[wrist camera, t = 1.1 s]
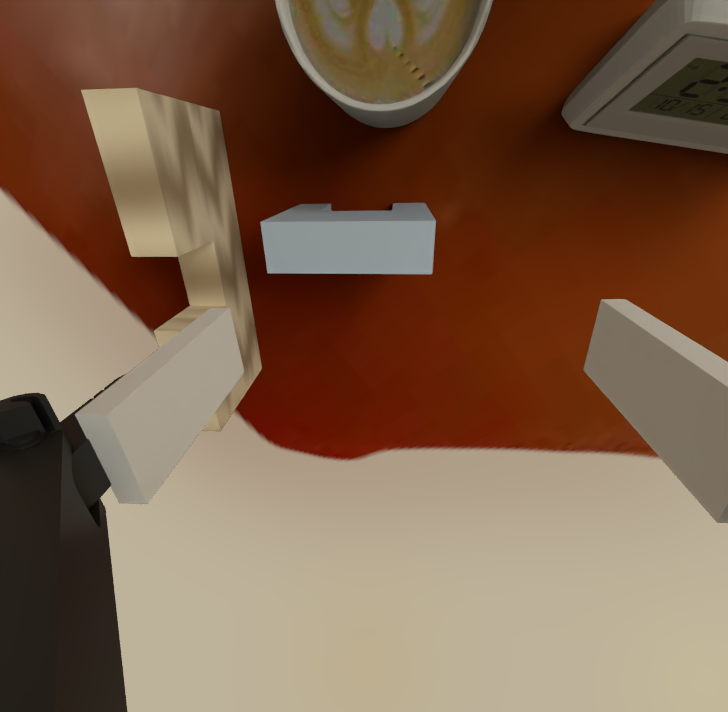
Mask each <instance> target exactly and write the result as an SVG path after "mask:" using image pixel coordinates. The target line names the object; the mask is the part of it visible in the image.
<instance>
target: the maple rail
mask: <svg viewBox="0 0 728 712" xmlns="http://www.w3.org/2000/svg"><path fill="white" fill-rule="evenodd" d="M81 91H82V95H83V98H84V101H85V105H86V108H87V111H88V115H89V118H90V121H91V124H92V128H93V131H94V134H95V138H96V141H97V144H98V148H99V151H100V154H101V158H102V161H103V164H104V168H105V171H106V174H107V177H108V181H109V184H110V187H111V191H112V194H113V197H114V201H115V204H116V207H117V211H118V214H119V217H120V221H121V224H122V227H123V230H124V234H125V237H126V240H127V244H128V247H129V250H130V254H131V257H178V259H179V263H180V267H181V271H182V275H183V279H184V283H185V287H186V291H187V295H188V299H189V304H190V306H189V307H187V308H186V309H184V310H183V311H182V312H180V313H179V314H177V315H176V316H174V317H173V318H171V319H170V320H169V321H167V322H166V323H164V324H163V325H161V326H160V327H158V328H157V329H156V330H154V333H155V337H156V340H157V343H158V346H159V348H160V347H161V346H163V345H164V344H165V343H166V342H168V341H169V340H170V339H172V338H173V337H174V336H175V335H177V334H178V333H179V332H180V331H182V330H183V329H184V328H186V327H187V326H188V325H189V324H191V323H192V322H193V321H194V320H196V319H197V318H198V317H200V316H201V315H202V314H203V313H205V312H206V311H207V310H209V309H210V308H230V311H231V316H232V320H233V324H234V329H235V333H236V337H237V342H238V346H239V350H240V355H241V359H242V363H243V368H244V373H243V374H242V376H241V377H240V379H239V380H238V381H237V383H236V384H235V385H234V387H233V388H232V390H231V391H230V392H229V394H228V395H227V396H226V398H225V399H224V400H223V402H222V403H221V405H220V406H219V407H218V409H217V410H216V411H215V413H214V414H213V416H212V417H211V418H210V420H209V421H208V422H207V424H206V425H205V426H204V428H203V429H202V431H221V430H222V428H223V427H224V425H225V424H226V422H227V421H228V419H229V418H230V416H231V415H232V413H233V412H234V410H235V409H236V407H237V406H238V404H239V403H240V401H241V400H242V398H243V397H244V395H245V394H246V392H247V391H248V389H249V388H250V386H251V384H252V383H253V381H254V380H255V378H256V377H257V375H258V374H259V372H260V371H261V369H262V365H261V359H260V353H259V347H258V341H257V335H256V329H255V323H254V317H253V311H252V305H251V298H250V292H249V286H248V280H247V274H246V268H245V262H244V256H243V250H242V244H241V238H240V232H239V226H238V219H237V213H236V207H235V201H234V195H233V189H232V183H231V177H230V171H229V165H228V159H227V153H226V146H225V140H224V134H223V128H222V122H221V116H220V111H218V110H214V109H211V108H207V107H203V106H200V105H196V104H192V103H189V102H185V101H182V100H178V99H174V98H171V97H167V96H164V95H160V94H156V93H153V92H149V91H146V90H142V89H138V88H121V89H94V90H81Z"/></svg>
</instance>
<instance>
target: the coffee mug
mask: <svg viewBox="0 0 728 712" xmlns="http://www.w3.org/2000/svg"><path fill="white" fill-rule="evenodd" d="M275 2H276V8H277V13H278V16H279V20H280V23H281V26H282V30H283V32H284V35H285V37H286V39H287V41H288V44H289V46H290V48H291V50H292V52H293V54H294V56H295V58H296V60H297V61H298V63H299V64H300V66H301V67H302V69H303V70H304V71H305V73H306V74H307V75H308V76H309V78H310V79H311V80H312V81H313V82H314V83H315V84H316V86H317V87H319V88H320V89H321V90H322V91H323V92H324V93H325V94H326V95H327V96H328V97H329V98H331V99H332V100H333V101H334V102H335V103H336V104H337V105H338V106H339V107H340V108H341V109H343V110H344V111H345V112H346V113H347V114H348V115H350V116H351V117H352V118H354V119H356V120H357V121H359V122H361V123H364V124H366V125H369V126H373V127H379V128H393V127H399V126H403V125H406V124H409V123H411V122H413V121H415V120H417V119H419V118H420V117H422V116H423V115H424V114H426V113H427V112H428V111H430V110H431V109H432V108H433V107H434V106H435V105H436V104H437V102H438V101H439V100H440V99H441V98H442V96H443V95H444V93H445V92H446V91H447V89H448V88H449V86H450V85H451V83H452V82H453V80H454V79H455V77H456V76H457V74H458V73H459V71H460V70H461V68H462V67H463V65H464V64H465V62H466V61H467V59H468V58H469V56H470V54H471V53H472V51H473V49H474V47H475V46H476V44H477V42H478V40H479V38H480V35H481V33H482V31H483V29H484V26H485V24H486V21H487V18H488V15H489V12H490V8H491V5H492V2H493V0H275Z"/></svg>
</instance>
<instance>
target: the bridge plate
mask: <svg viewBox="0 0 728 712" xmlns="http://www.w3.org/2000/svg"><path fill="white" fill-rule="evenodd" d="M260 223H261V230H262V237H263V245H264V252H265V259H266V266H267V273H298V274H432V270H433V255H434V240H435V225H436V220H435V219H434V217H433V215H432V214H431V212H430V210H429V209H428V207H427V206H426V204H425V203H393V208H392V211H331V204H300V205H297V206H295V207H293V208H291V209H288V210H286V211H284V212H282V213H279V214H277V215H275V216H273V217H270V218H268V219H266V220H264V221H261V222H260Z"/></svg>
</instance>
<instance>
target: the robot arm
mask: <svg viewBox="0 0 728 712" xmlns="http://www.w3.org/2000/svg"><path fill="white" fill-rule="evenodd" d="M584 371H585V373H586V374H587V375H588V376H589V377H590V378H591V379H592V381H593V382H594V383H595V384H596V385H597V386H598V387H599V388H600V390H601V391H602V392H603V393H604V394H605V395H606V396H607V398H608V399H609V400H610V401H611V402H612V403H613V404H614V406H615V407H616V408H617V409H618V410H619V411H620V412H621V414H622V415H623V416H624V417H625V418H626V419H627V420H628V422H629V423H630V424H631V425H632V426H633V427H634V428H635V430H636V431H637V432H638V433H639V434H640V435H641V436H642V437H643V439H644V440H645V441H646V442H647V443H648V444H649V445H650V447H651V448H652V449H653V450H654V451H655V452H656V453H657V455H658V456H659V457H660V458H661V459H662V460H663V461H664V463H665V464H666V465H667V466H668V467H669V468H670V469H671V470H672V472H673V473H674V474H675V475H676V476H677V477H678V478H679V480H680V481H681V482H682V483H683V484H684V485H685V486H686V488H687V489H688V490H689V491H690V492H691V493H692V494H693V496H695V498H696V499H697V500H698V501H699V502H700V503H701V505H702V506H703V507H704V508H705V509H706V510H707V511H708V512H709V514H710V515H711V516H712V517H713V518H714V520H715V521H716V522H718V523H728V362H727V361H725V360H723V359H722V358H720V357H719V356H717V355H715V354H714V353H712V352H710V351H709V350H707V349H706V348H704V347H702V346H701V345H699V344H697V343H696V342H694V341H693V340H691V339H689V338H688V337H686V336H684V335H683V334H681V333H680V332H678V331H676V330H675V329H673V328H671V327H670V326H668V325H667V324H665V323H663V322H662V321H660V320H658V319H657V318H655V317H654V316H652V315H650V314H649V313H647V312H645V311H644V310H642V309H640V308H639V307H637V306H636V305H634V304H632V303H631V302H629V301H627V300H626V299H605V300H601V302H600V306H599V310H598V314H597V318H596V322H595V326H594V330H593V334H592V338H591V342H590V346H589V350H588V354H587V358H586V362H585V366H584ZM243 373H244V368H243V363H242V359H241V355H240V350H239V346H238V342H237V337H236V333H235V329H234V324H233V320H232V316H231V311H230V308H210V309H209V310H207V311H206V312H205V313H203V314H202V315H201V316H200V317H198V318H197V319H196V320H194V321H193V322H192V323H191V324H189V325H188V326H187V327H186V328H184V329H183V330H182V331H180V332H179V333H178V334H177V335H175V336H174V337H173V338H172V339H170V340H169V341H168V342H166V343H165V344H164V345H163V346H161V347H160V348H159V349H157V350H156V351H155V352H154V353H152V354H151V355H150V356H149V357H147V358H146V359H145V360H144V361H142V362H141V363H140V364H138V365H137V366H136V367H134V368H133V369H132V370H131V371H129V372H128V373H127V374H125V375H123V376H121V377H119V378H117V379H116V380H114V381H113V382H112V383H110V384H109V385H108V386H107V387H105V388H104V390H101V391H100V392H99V393H97V394H96V395H95V396H94V399H90V400H88V401H87V402H86V403H85V404H83V405H82V406H81V407H79V408H78V409H77V410H76V411H74V412H73V413H72V414H70V415H69V416H68V417H67V418H65V419H64V420H63V421H61V422H59V420H58V418H57V416H56V415H55V413H54V411H53V409H52V407H51V405H50V403H49V401H48V400H47V398H46V396H45V395H44V394H40V393H28V394H23V395H17V396H13V397H10V398H7V399H4V400H1V401H0V712H127V706H126V695H125V686H124V677H123V667H122V658H121V649H120V640H119V630H118V621H117V612H116V602H115V594H114V584H113V575H112V565H111V556H110V547H109V538H108V528H107V519H106V510H105V507H104V505H103V503H102V501H101V499H100V497H101V496H102V495H103V494H104V493H105V492H106V491H107V489H108V488H109V487H110V486H111V487H112V490H113V492H114V494H115V496H116V498H117V499H118V502H119V503H130V504H148V503H149V502H150V500H151V499H152V498H153V496H154V495H155V493H156V492H157V491H158V489H159V488H160V487H161V485H162V484H163V483H164V481H165V480H166V478H167V477H168V476H169V474H170V473H171V472H172V470H173V469H174V467H175V466H176V465H177V463H178V462H179V461H180V459H181V458H182V457H183V455H184V454H185V452H186V451H187V450H188V448H189V447H190V446H191V444H192V443H193V441H194V440H195V439H196V437H197V436H198V435H199V433H200V432H201V431H202V429H203V428H204V426H205V425H206V424H207V422H208V421H209V420H210V418H211V417H212V416H213V414H214V413H215V411H216V410H217V409H218V407H219V406H220V405H221V403H222V402H223V400H224V399H225V398H226V396H227V395H228V394H229V392H230V391H231V390H232V388H233V387H234V385H235V384H236V383H237V381H238V380H239V379H240V377H241V376H242V374H243Z"/></svg>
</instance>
